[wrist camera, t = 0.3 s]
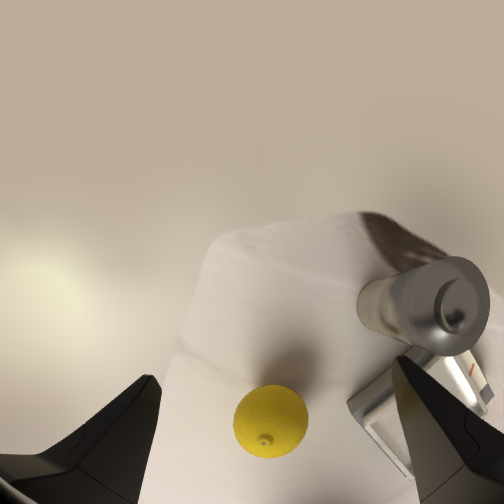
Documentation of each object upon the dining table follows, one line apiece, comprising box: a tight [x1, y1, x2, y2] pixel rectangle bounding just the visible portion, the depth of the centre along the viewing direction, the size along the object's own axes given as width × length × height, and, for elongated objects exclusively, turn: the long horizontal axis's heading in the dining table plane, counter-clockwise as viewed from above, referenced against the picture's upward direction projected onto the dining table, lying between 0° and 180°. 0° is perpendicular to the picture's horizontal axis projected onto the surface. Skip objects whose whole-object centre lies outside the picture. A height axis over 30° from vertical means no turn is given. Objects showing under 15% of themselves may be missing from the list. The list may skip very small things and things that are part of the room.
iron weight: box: [356, 256, 490, 357], centre depth 15 cm, size 4×4×14 cm
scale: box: [346, 346, 494, 481], centre depth 18 cm, size 10×11×5 cm
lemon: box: [233, 385, 308, 458], centre depth 18 cm, size 6×6×8 cm
